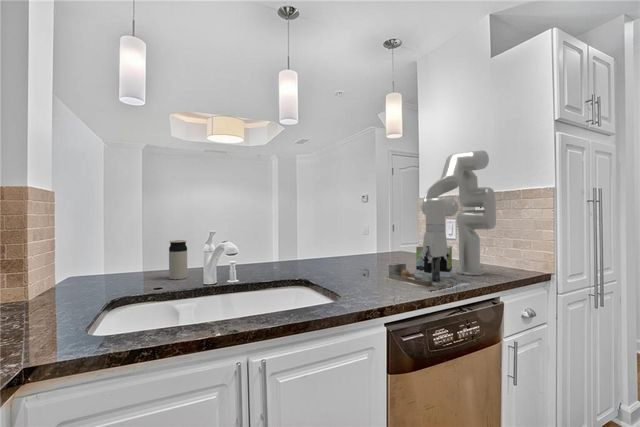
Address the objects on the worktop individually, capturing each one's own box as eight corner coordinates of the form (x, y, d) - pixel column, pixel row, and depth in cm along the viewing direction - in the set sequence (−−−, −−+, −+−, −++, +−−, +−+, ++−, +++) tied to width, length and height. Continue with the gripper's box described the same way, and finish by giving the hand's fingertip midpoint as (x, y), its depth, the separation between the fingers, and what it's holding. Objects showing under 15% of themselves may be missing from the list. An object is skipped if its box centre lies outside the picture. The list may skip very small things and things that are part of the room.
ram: (423, 279, 138) (423, 253, 138) (448, 284, 128) (447, 255, 128) (412, 281, 134) (412, 254, 134) (436, 286, 124) (436, 257, 124)
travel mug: (190, 276, 157) (190, 240, 157) (181, 280, 149) (181, 241, 149) (175, 276, 158) (174, 240, 158) (165, 279, 150) (165, 241, 150)
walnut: (404, 277, 145) (404, 268, 145) (411, 278, 141) (411, 269, 141) (398, 278, 143) (398, 269, 143) (405, 279, 139) (405, 270, 139)
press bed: (403, 277, 152) (403, 261, 152) (453, 287, 130) (453, 269, 130) (382, 280, 144) (382, 264, 144) (431, 292, 122) (431, 273, 122)
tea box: (415, 277, 151) (415, 246, 151) (419, 273, 160) (419, 244, 160) (450, 280, 144) (449, 247, 144) (452, 276, 153) (452, 245, 153)
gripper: (440, 228, 137) (441, 268, 136) (413, 229, 127) (413, 272, 127) (456, 228, 130) (456, 270, 130) (429, 229, 121) (429, 275, 121)
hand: (435, 271), depth 129 cm, fingers open, 9 cm apart
